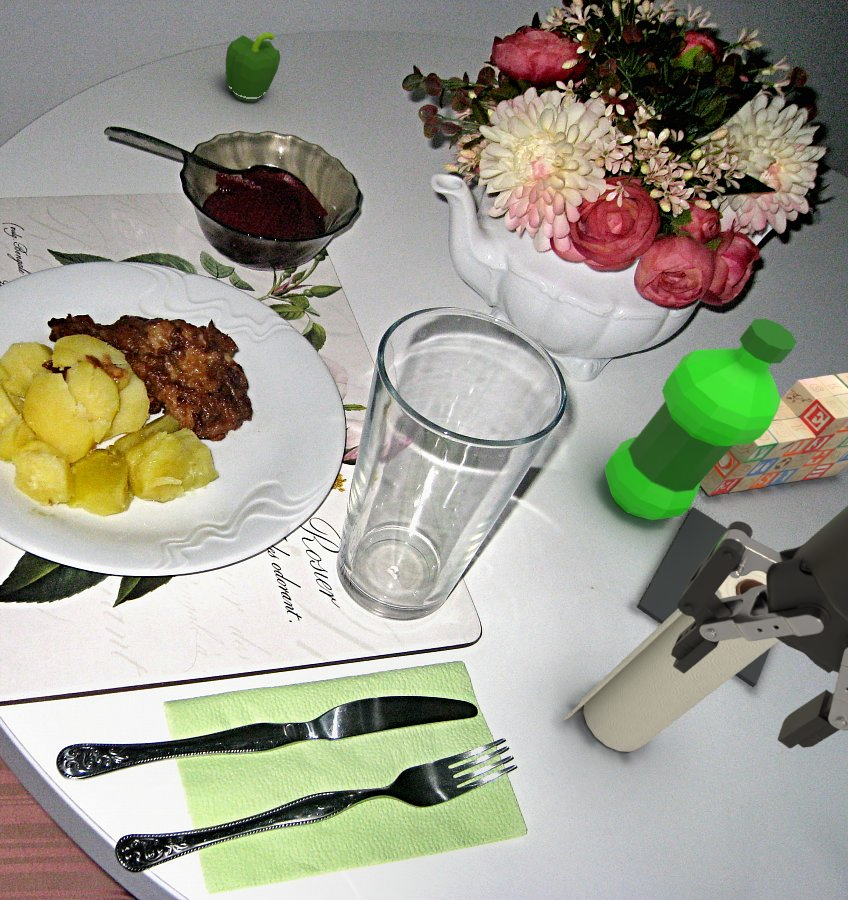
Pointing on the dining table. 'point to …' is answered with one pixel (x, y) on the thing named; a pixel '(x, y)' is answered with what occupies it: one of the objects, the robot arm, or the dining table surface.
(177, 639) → the dining table surface
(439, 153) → the dining table surface
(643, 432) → the plastic bottle
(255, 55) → the bell pepper
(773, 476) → the stack of blocks
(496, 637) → the dining table surface
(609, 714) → the paper towel roll
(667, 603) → the mat
